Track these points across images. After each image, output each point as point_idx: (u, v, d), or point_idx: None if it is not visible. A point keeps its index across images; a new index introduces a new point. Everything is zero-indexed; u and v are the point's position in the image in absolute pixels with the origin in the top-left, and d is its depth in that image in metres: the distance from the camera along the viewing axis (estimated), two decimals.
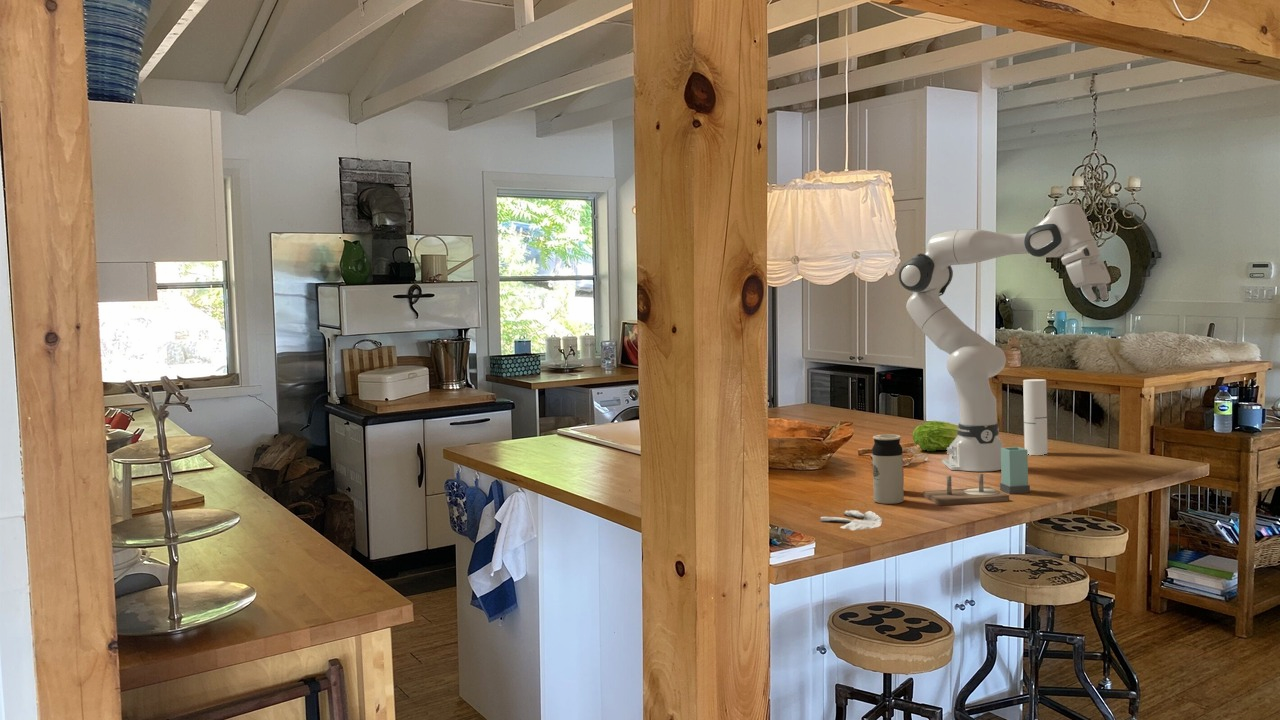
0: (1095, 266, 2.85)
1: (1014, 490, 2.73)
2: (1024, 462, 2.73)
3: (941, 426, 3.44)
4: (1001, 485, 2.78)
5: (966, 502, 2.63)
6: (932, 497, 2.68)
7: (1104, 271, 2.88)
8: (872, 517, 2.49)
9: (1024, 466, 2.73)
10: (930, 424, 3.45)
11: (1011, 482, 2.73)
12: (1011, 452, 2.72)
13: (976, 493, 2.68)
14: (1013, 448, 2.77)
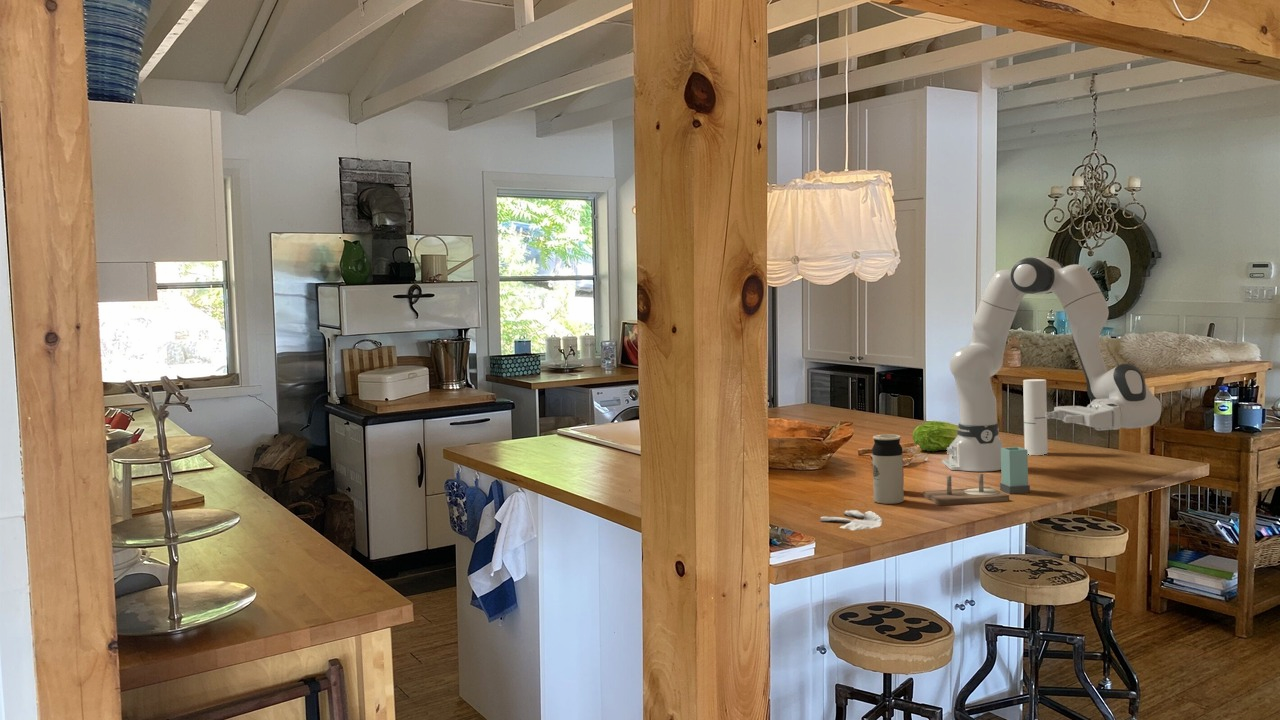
0: None
1: (1014, 490, 2.73)
2: (1024, 462, 2.73)
3: (941, 426, 3.44)
4: (1001, 485, 2.78)
5: (966, 502, 2.63)
6: (932, 497, 2.68)
7: None
8: (872, 517, 2.49)
9: (1024, 466, 2.73)
10: (930, 424, 3.45)
11: (1011, 482, 2.73)
12: (1011, 452, 2.72)
13: (976, 493, 2.68)
14: (1013, 448, 2.77)
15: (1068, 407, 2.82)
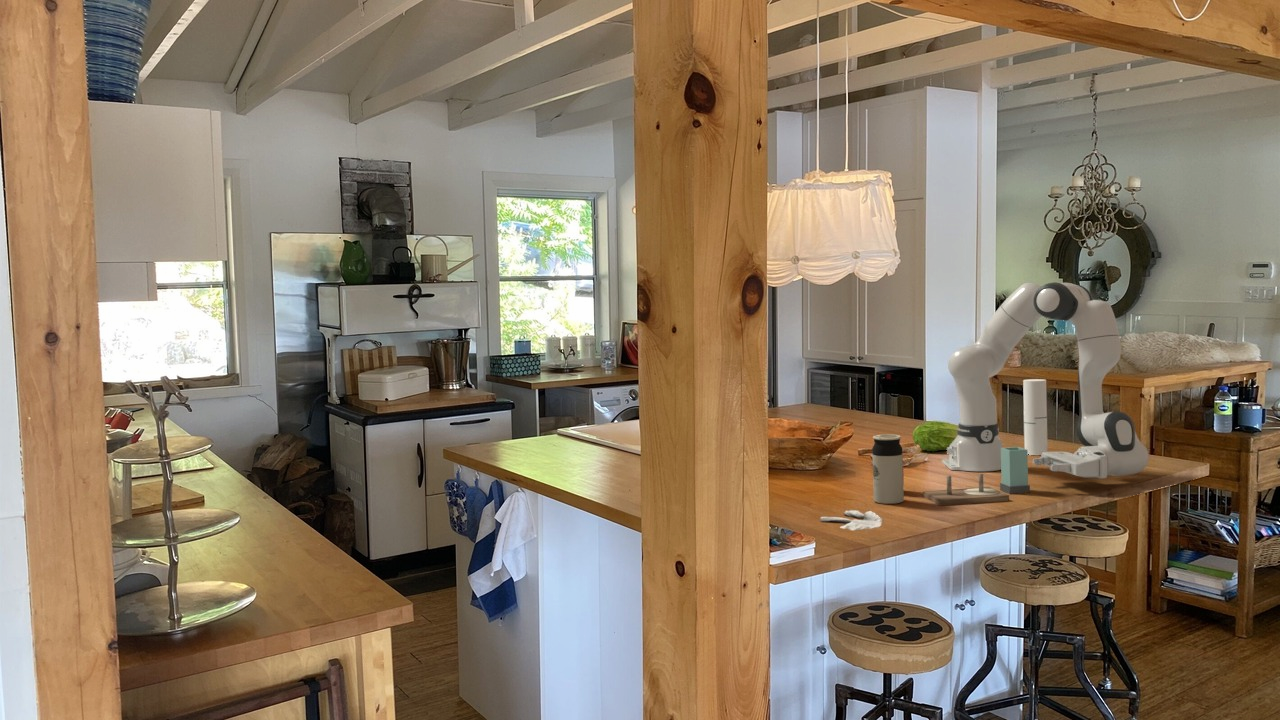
0: None
1: (1014, 490, 2.73)
2: (1024, 462, 2.73)
3: (941, 426, 3.44)
4: (1001, 485, 2.78)
5: (966, 502, 2.63)
6: (932, 497, 2.68)
7: None
8: (872, 517, 2.49)
9: (1024, 466, 2.73)
10: (930, 424, 3.45)
11: (1011, 482, 2.73)
12: (1011, 452, 2.72)
13: (976, 493, 2.68)
14: (1013, 448, 2.77)
15: (1055, 453, 2.83)
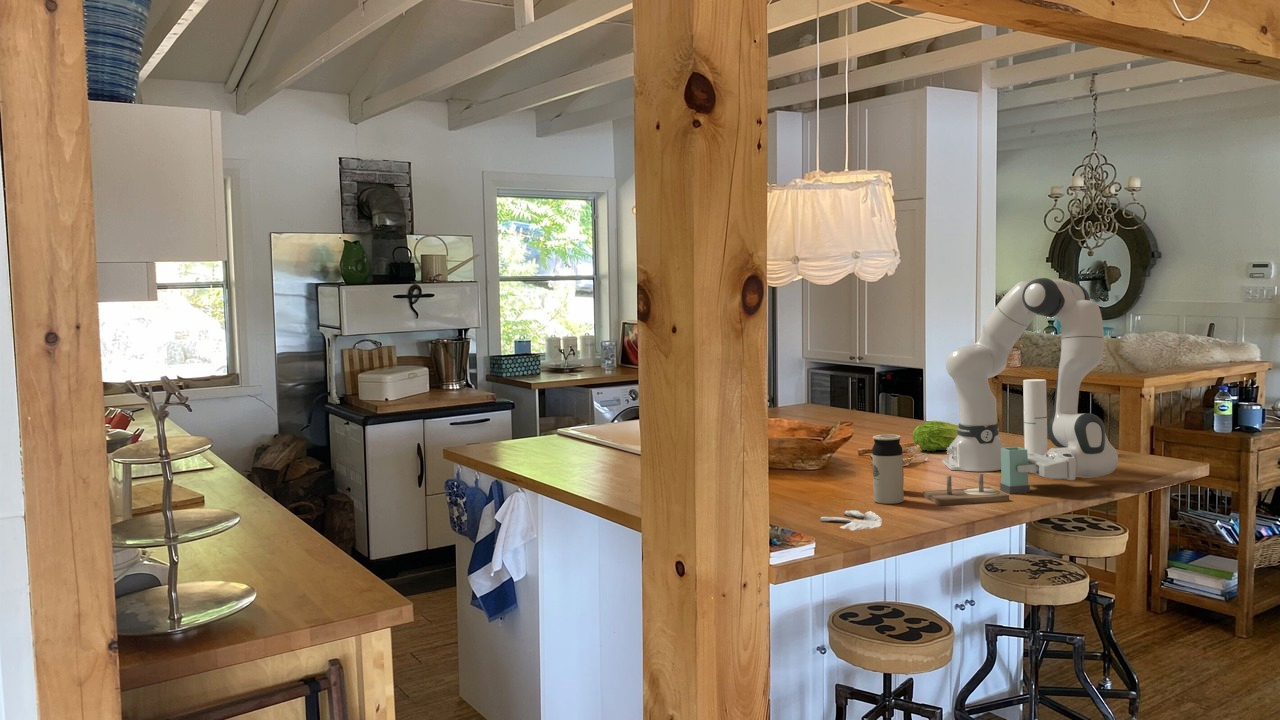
0: None
1: (1014, 490, 2.73)
2: (1024, 462, 2.73)
3: (941, 426, 3.44)
4: (1001, 485, 2.78)
5: (966, 502, 2.63)
6: (932, 497, 2.68)
7: None
8: (872, 517, 2.49)
9: None
10: (930, 424, 3.45)
11: (1011, 482, 2.73)
12: (1011, 452, 2.72)
13: (976, 493, 2.68)
14: (1013, 448, 2.77)
15: None
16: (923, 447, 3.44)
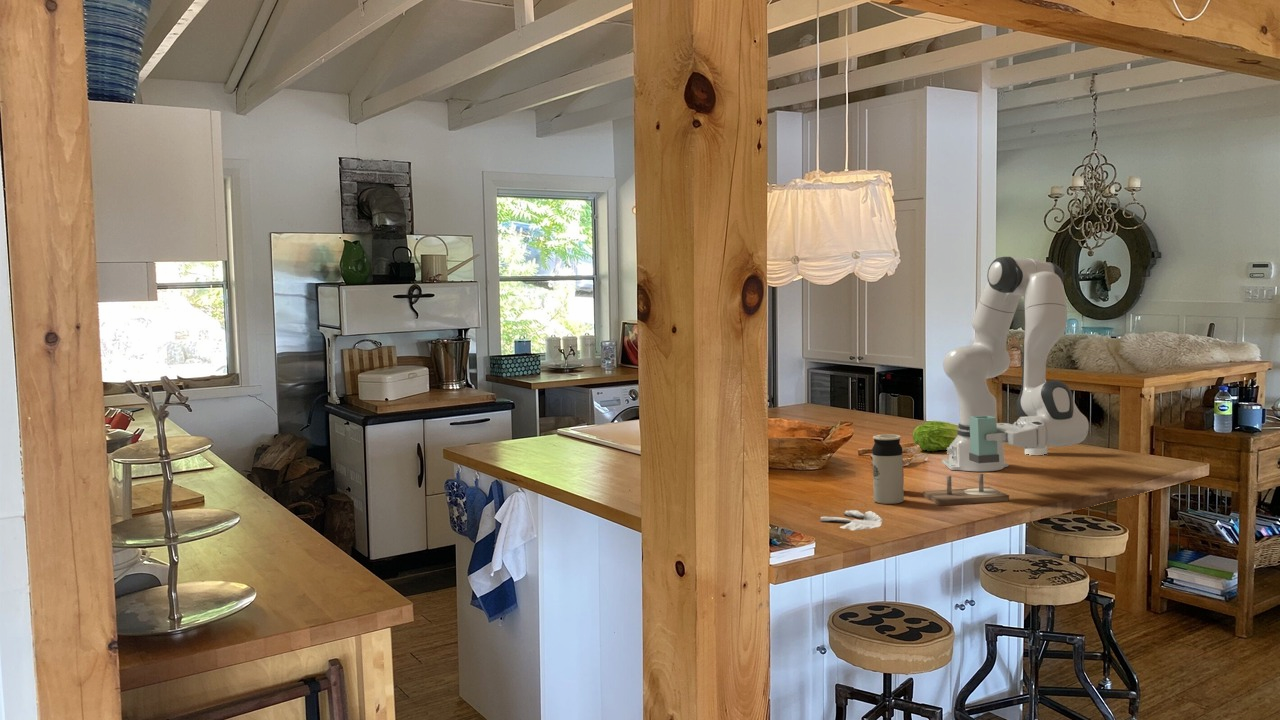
0: None
1: (983, 459, 2.66)
2: (993, 430, 2.66)
3: (941, 426, 3.44)
4: (970, 455, 2.71)
5: (966, 502, 2.63)
6: (932, 497, 2.68)
7: None
8: (872, 517, 2.49)
9: None
10: (930, 424, 3.45)
11: (980, 451, 2.66)
12: (980, 420, 2.66)
13: (976, 493, 2.68)
14: (982, 417, 2.71)
15: None
16: (923, 447, 3.44)
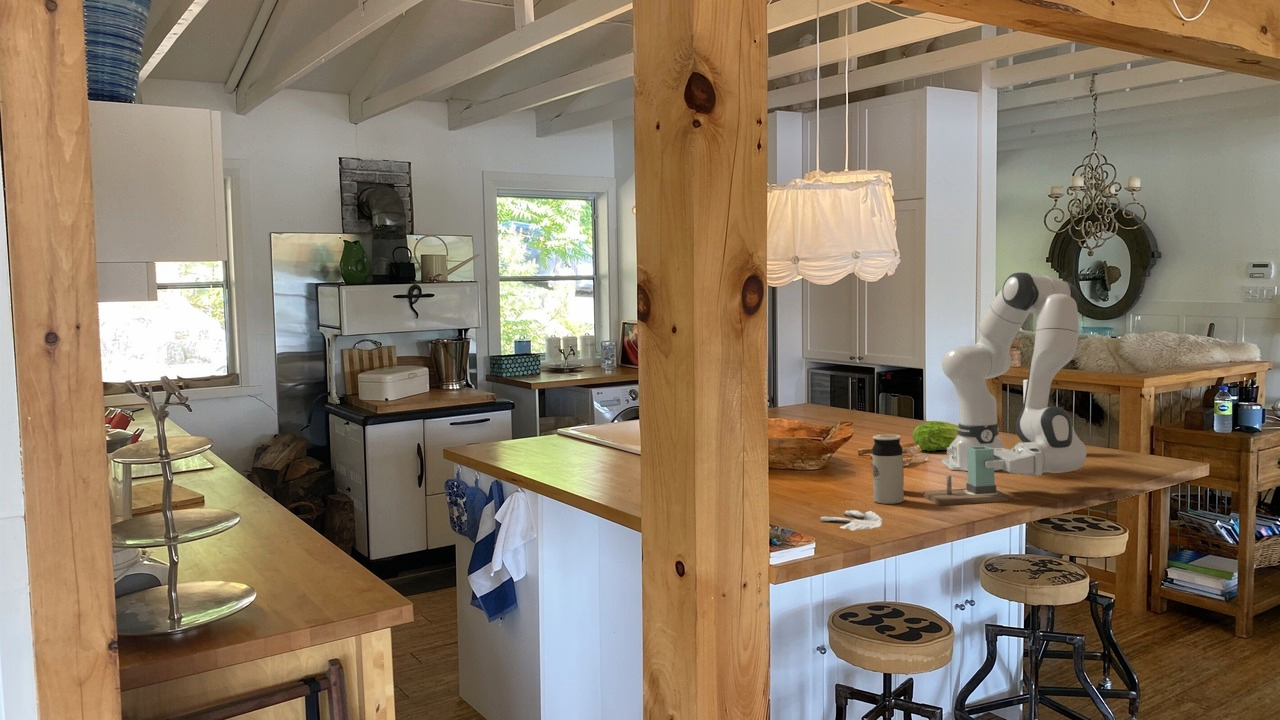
0: None
1: (980, 490, 2.67)
2: None
3: (941, 426, 3.44)
4: (967, 485, 2.71)
5: (966, 502, 2.63)
6: (932, 497, 2.68)
7: None
8: (872, 517, 2.49)
9: None
10: (930, 424, 3.45)
11: (977, 482, 2.67)
12: (977, 451, 2.66)
13: None
14: (980, 447, 2.71)
15: None
16: (923, 447, 3.44)
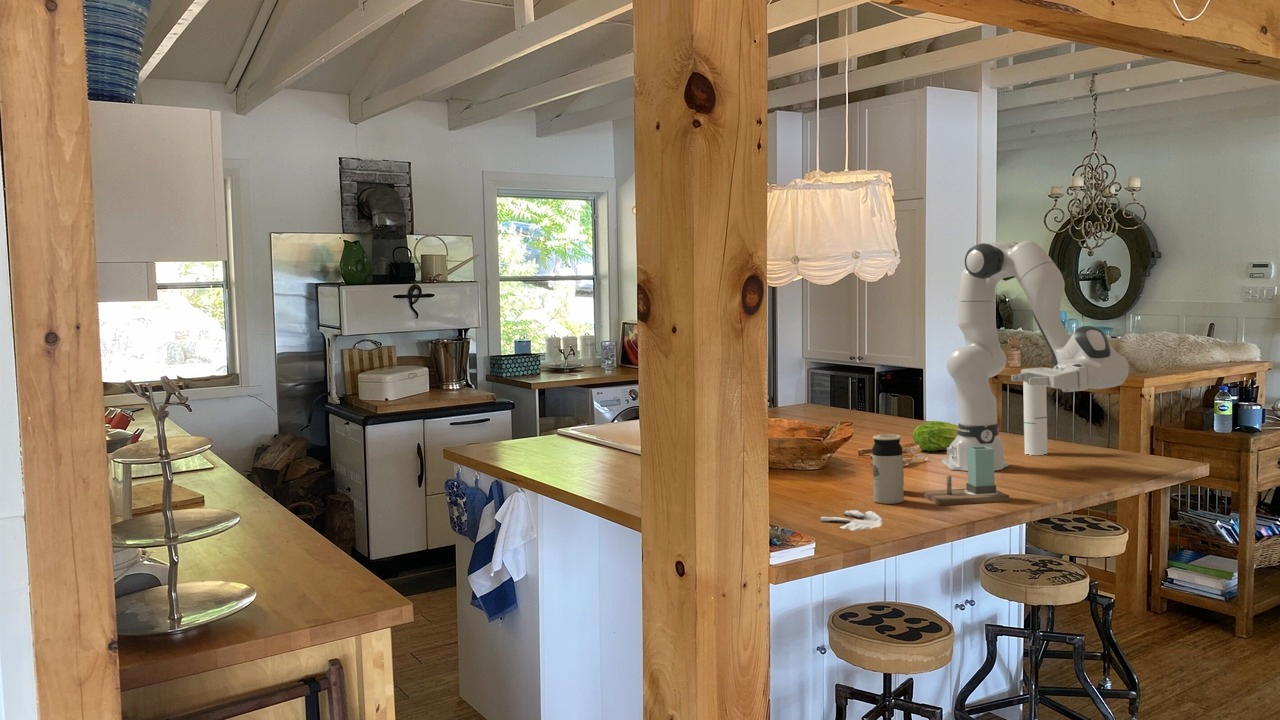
0: None
1: (980, 490, 2.67)
2: (990, 461, 2.67)
3: (941, 426, 3.44)
4: (967, 485, 2.71)
5: (966, 502, 2.63)
6: (932, 497, 2.68)
7: None
8: (872, 517, 2.49)
9: (990, 466, 2.67)
10: (930, 424, 3.45)
11: (977, 482, 2.67)
12: (977, 451, 2.66)
13: None
14: (980, 447, 2.71)
15: (1035, 369, 2.76)
16: (923, 447, 3.44)
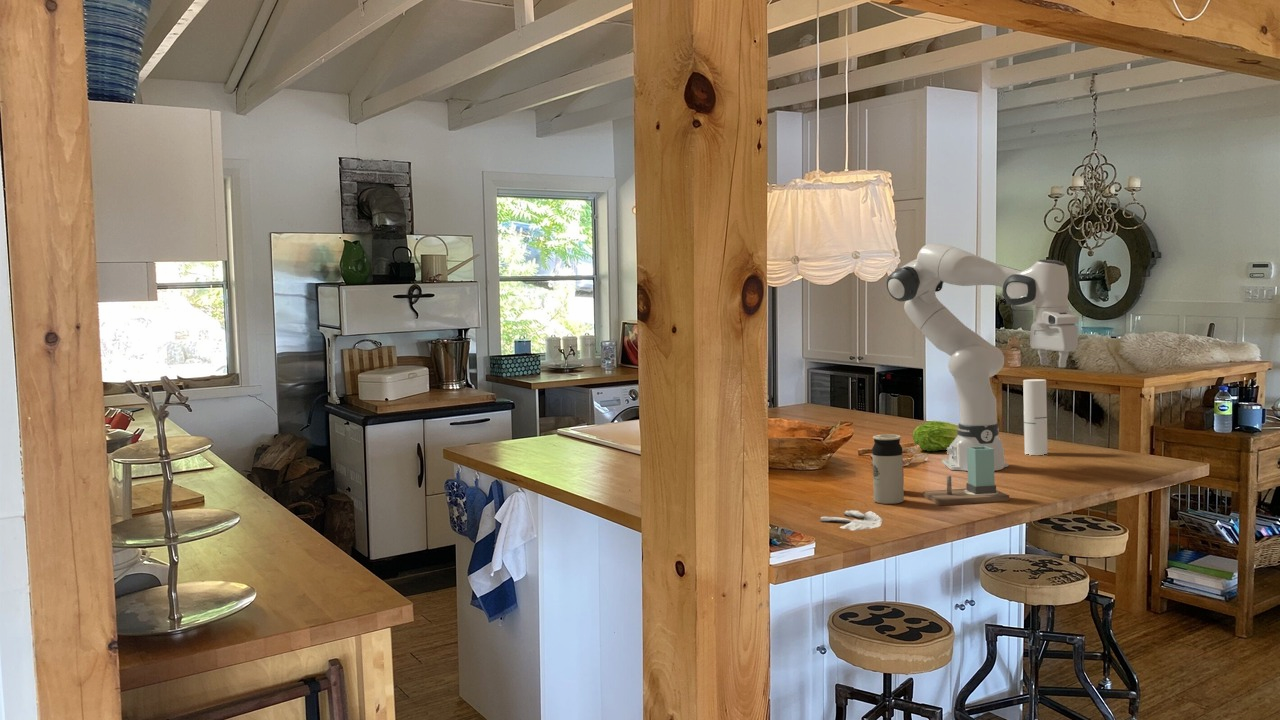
0: None
1: (980, 490, 2.67)
2: (990, 461, 2.67)
3: (941, 426, 3.44)
4: (967, 485, 2.71)
5: (966, 502, 2.63)
6: (932, 497, 2.68)
7: None
8: (872, 517, 2.49)
9: (990, 466, 2.67)
10: (930, 424, 3.45)
11: (977, 482, 2.67)
12: (977, 451, 2.66)
13: None
14: (980, 447, 2.71)
15: (1036, 340, 2.84)
16: (923, 447, 3.44)
